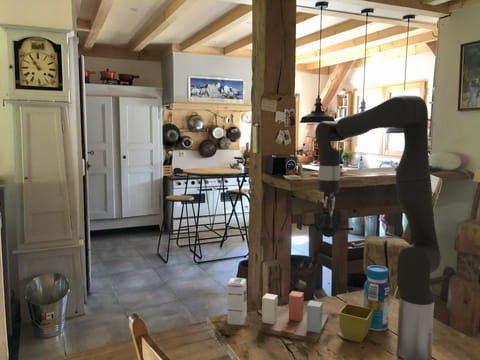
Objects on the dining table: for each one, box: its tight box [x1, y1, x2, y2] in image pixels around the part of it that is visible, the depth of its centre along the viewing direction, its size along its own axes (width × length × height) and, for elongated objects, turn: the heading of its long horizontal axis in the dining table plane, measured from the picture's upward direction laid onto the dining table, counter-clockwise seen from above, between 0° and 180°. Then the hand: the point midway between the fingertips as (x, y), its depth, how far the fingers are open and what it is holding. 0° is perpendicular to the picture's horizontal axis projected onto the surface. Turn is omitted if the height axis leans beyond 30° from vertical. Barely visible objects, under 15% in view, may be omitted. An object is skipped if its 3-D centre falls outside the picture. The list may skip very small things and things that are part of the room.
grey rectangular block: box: [306, 300, 323, 333], centre depth 132 cm, size 4×4×8 cm
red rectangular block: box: [288, 290, 305, 321], centre depth 140 cm, size 4×4×8 cm
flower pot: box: [338, 303, 373, 344], centre depth 131 cm, size 9×9×9 cm
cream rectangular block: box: [261, 292, 279, 324], centre depth 138 cm, size 4×4×8 cm
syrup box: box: [226, 277, 248, 326], centre depth 142 cm, size 6×6×14 cm
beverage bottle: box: [362, 264, 391, 332], centre depth 138 cm, size 8×8×20 cm
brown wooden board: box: [258, 305, 329, 344], centre depth 140 cm, size 19×18×2 cm
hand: (327, 226), depth 149 cm, fingers closed
